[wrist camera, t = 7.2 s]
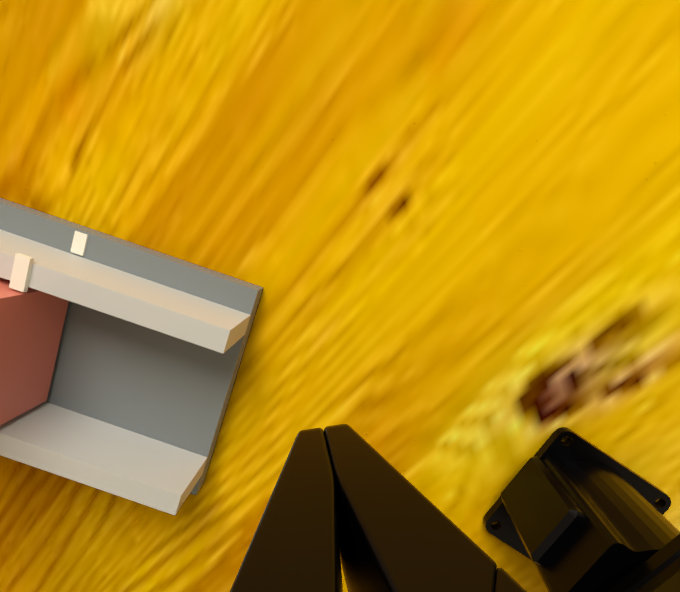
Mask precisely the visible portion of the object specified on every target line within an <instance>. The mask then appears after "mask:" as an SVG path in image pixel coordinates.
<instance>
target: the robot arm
mask: <svg viewBox="0 0 680 592" xmlns="http://www.w3.org/2000/svg"><path fill="white" fill-rule="evenodd" d="M565 436H568V437H569V438H568V440H567V441H565V442H562V441H561V440H562V438H564V437H565ZM659 498H660V499H659ZM657 499H659V501H657V502H655V501H656V500H657ZM670 505H671V500H670V498H669V497H668V496H667V495H666V494H665V493H664V492H663V491H662V490H660V489H659V488H657V487H656V486H654V485H653V484H651V483H650V482H648V481H647V480H645V479H644V478H642V477H641V476H639V475H638V474H636V473H635V472H633V471H632V470H630V469H629V468H627V467H626V466H624V465H623V464H621V463H620V462H618V461H617V460H615V459H614V458H612V457H611V456H609V455H608V454H606V453H605V452H603V451H602V450H600V449H599V448H597V447H596V446H594V445H593V444H591V443H590V442H588V441H587V440H585V439H584V438H582V437H581V436H579V435H578V434H576V433H575V432H573V431H572V430H570V429H568V428H564V427H562V428H559V429H557V430H556V431H555V432H554V433H553V434H552V435H551V436H550V438H549V439H548V440H547V441H546V442H545V444H544V445H543V446H542V447H541V448H540V450H539V451H538V452H537V453H536V454H535V456H534V457H532V458H530V459H529V461H528V462H527V463H526V464H525V465H524V467H523V468H522V469H521V470H520V471H519V473H518V474H517V475H516V476H515V477H514V479H513V480H512V481H511V482H510V483H509V485H508V486H507V487H506V488H505V490H504V491H503V492H502V493H501V497H500V498H499V499H498V500H497V501H496V503H495V504H494V505H493V506H492V507H491V509H490V510H489V511H488V512H487V513H486V515H485V516H484V524H485V526H486V529H487V531H488V532H489V533H491V534H492V535H494V536H495V537H497V538H498V539H500V540H502V541H503V542H505V543H506V544H508V545H509V546H511V547H512V548H514V549H515V550H517V551H519V552H520V553H522V554H523V555H525V556H526V557H528V558H529V559H531V560H532V561H533V562H534V564H535V566H536V568H537V570H538V572H539V574H540V576H541V578H542V580H543V582H544V584H545V586H546V588H547V590H548V592H680V532H679V531H678V530H677V529H676V528H675V527H674V526H673V525H672V524H671V523H670V522H669V521H668V520H667V519H666V518H665V517H664V516H663V514H664V513H665V512H666V511H667V510H668V509H669V507H670ZM493 521H498V523H497V524H494V525H493V524H491V523H492V522H493ZM340 557H341V559H340ZM341 563H342V568H343V572H344V576H345V580H346V584H347V588H348V592H527V591H526V590H524V589H523V588H522V587H521V586H520V585H519V584H518V583H517V582H516V581H515V580H514V579H513V578H512V577H511V576H510V575H508V574H507V573H506V572H505V571H504V570H503V569H502V568H498V569H497V570H496V568H497V565H496V563H495V562H494V561H493V560H492V559H491V558H490V557H489V556H488V555H487V554H486V553H485V552H484V551H483V550H481V549H480V548H479V547H478V546H477V545H476V544H475V543H474V542H473V541H472V540H471V539H470V538H469V537H468V536H467V535H465V534H464V533H463V532H462V531H461V530H460V529H459V528H458V527H457V526H456V525H455V524H454V523H453V522H452V521H451V520H449V519H448V518H447V517H446V516H445V515H444V514H443V513H442V512H441V511H440V510H439V509H438V508H437V507H436V506H434V505H433V504H432V503H431V502H430V501H429V500H428V499H427V498H426V497H425V496H424V495H423V494H422V493H421V492H420V491H418V490H417V489H416V488H415V487H414V486H413V485H412V484H411V483H410V482H409V481H408V480H407V479H406V478H405V477H403V476H402V475H401V474H400V473H399V472H398V471H397V470H396V469H395V468H394V467H393V466H392V465H391V464H390V463H389V462H387V461H386V460H385V459H384V458H383V457H382V456H381V455H380V454H379V453H378V452H377V451H376V450H375V449H374V448H373V447H371V446H370V445H369V444H368V443H367V442H366V441H365V440H364V439H363V438H362V437H361V436H360V435H359V434H358V433H356V432H355V431H354V430H353V429H352V428H351V427H350V426H349V425H347V424H340V425H334V426H328V427H326V428H325V429H324V431H323V430H322V429H321V428H314V429H308V430H302V431H300V432H299V433H298V435H297V437H296V439H295V441H294V444H293V446H292V448H291V451H290V453H289V455H288V458H287V460H286V462H285V465H284V467H283V469H282V472H281V474H280V476H279V479H278V481H277V483H276V486H275V488H274V490H273V493H272V495H271V497H270V500H269V502H268V504H267V507H266V509H265V511H264V514H263V516H262V518H261V521H260V523H259V525H258V528H257V530H256V532H255V535H254V537H253V539H252V542H251V544H250V546H249V549H248V551H247V553H246V555H245V558H244V560H243V562H242V565H241V567H240V569H239V572H238V574H237V576H236V579H235V581H234V583H233V586H232V588H231V590H230V592H343V589H342V573H341Z"/></svg>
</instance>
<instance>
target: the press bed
mask: <svg viewBox="0 0 680 592" xmlns="http://www.w3.org/2000/svg"><path fill="white" fill-rule="evenodd" d="M0 277H1V278H4V279H7V280H10V284H9V288H12V289H15V290H18V291H21V292H27V291H28V287H30V288H33V289H36V290H39V291H42V292H45V293H48V294H51V295H53V296H56V297H59V298H62V299H65V300H68V301H69V303H68V307H67V312H66V316H65V321H64V325H63V330H62V334H61V339H60V343H59V348H58V352H57V356H56V361H55V365H54V370H53V374H52V379H51V383H50V388H49V392H48V397H47V400H46V401H45V402H43V403H41V404H39V405H37V406H35V407H34V408H32V409H30V410H28V411H26V412H24V413H22V414H21V415H19V416H17V417H15V418H13V419H11V420H9V421H8V422H6V423H4V424H2V425H0V455H1V456H4V457H7V458H10V459H13V460H15V461H18V462H21V463H24V464H27V465H30V466H33V467H36V468H39V469H42V470H44V471H47V472H50V473H53V474H56V475H59V476H62V477H65V478H68V479H71V480H73V481H76V482H79V483H82V484H85V485H88V486H91V487H94V488H97V489H100V490H103V491H105V492H108V493H111V494H114V495H117V496H120V497H123V498H126V499H129V500H132V501H134V502H137V503H140V504H143V505H146V506H149V507H152V508H155V509H158V510H161V511H163V512H166V513H169V514H172V515H176V514H177V512H178V511H179V509H180V507H181V506H182V504H183V503H184V501H185V500H186V498H187V497H188V495H189V494H193V495H196V494H197V493H198V491H199V490H200V488H201V487H202V485H203V483H204V480H205V477H206V473H207V470H208V467H209V464H210V460H211V457H212V454H213V451H214V447H215V444H216V441H217V437H218V434H219V431H220V428H221V424H222V421H223V418H224V415H225V411H226V408H227V405H228V401H229V398H230V395H231V392H232V388H233V385H234V382H235V379H236V375H237V372H238V369H239V366H240V362H241V359H242V356H243V352H244V349H245V346H246V343H247V339H248V336H249V333H250V330H251V326H252V323H253V320H254V317H255V313H256V310H257V307H258V303H259V300H260V297H261V294H262V290H263V287H260V286H257V285H254V284H251V283H248V282H245V281H242V280H239V279H237V278H234V277H231V276H228V275H225V274H222V273H219V272H216V271H213V270H210V269H207V268H204V267H201V266H198V265H196V264H193V263H190V262H187V261H184V260H181V259H178V258H175V257H172V256H169V255H166V254H163V253H160V252H157V251H155V250H152V249H149V248H146V247H143V246H140V245H137V244H134V243H131V242H128V241H125V240H122V239H119V238H116V237H114V236H111V235H108V234H105V233H102V232H99V231H96V230H93V229H90V228H87V227H84V226H81V225H78V224H75V223H73V222H70V221H67V220H64V219H61V218H58V217H55V216H52V215H49V214H46V213H43V212H40V211H37V210H34V209H32V208H29V207H26V206H23V205H20V204H17V203H14V202H11V201H8V200H5V199H2V198H0Z"/></svg>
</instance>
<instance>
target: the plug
mask: <svg viewBox="0 0 680 592" xmlns="http://www.w3.org/2000/svg"><path fill="white" fill-rule="evenodd" d="M9 284H10V280H7V279H4V278H1V277H0V425H2V424H4V423H6V422H8V421H9V420H11V419H13V418H15V417H17V416H19V415H21V414H22V413H24V412H26V411H28V410H30V409H32V408H34V407H35V406H37V405H39V404H41V403H43V402H45V401H46V400H47V397H48V392H49V388H50V383H51V379H52V374H53V370H54V365H55V361H56V356H57V352H58V348H59V343H60V339H61V334H62V330H63V325H64V321H65V316H66V312H67V307H68V303H69V301H68V300H65V299H62V298H59V297H56V296H53V295H51V294H48V293H45V292H42V291H39V290H36V289H33V288H30V287H28V291H27V292H21V291H18V290H15V289H12V288H9Z"/></svg>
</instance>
